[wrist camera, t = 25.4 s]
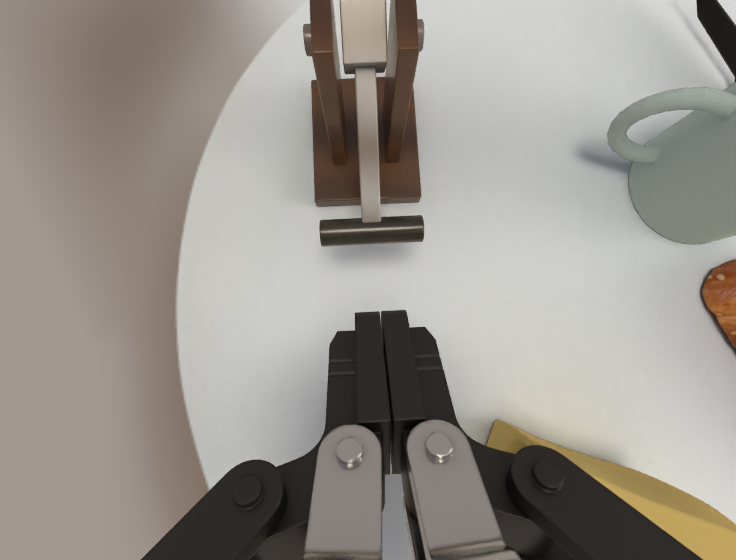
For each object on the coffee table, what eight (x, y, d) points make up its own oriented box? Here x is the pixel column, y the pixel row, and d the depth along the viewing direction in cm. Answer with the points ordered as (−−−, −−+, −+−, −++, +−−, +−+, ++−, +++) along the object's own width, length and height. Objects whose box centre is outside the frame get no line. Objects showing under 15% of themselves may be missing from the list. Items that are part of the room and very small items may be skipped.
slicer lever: (419, 237, 24) (425, 245, 22) (323, 242, 24) (320, 250, 22) (418, 12, 20) (425, -7, 18) (305, 17, 20) (299, -1, 18)
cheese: (440, 558, 26) (485, 694, 16) (493, 407, 28) (563, 447, 18) (586, 622, 26) (725, 804, 16) (631, 464, 27) (785, 539, 17)
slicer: (419, 202, 30) (457, 103, 17) (316, 206, 30) (279, 110, 17) (410, 85, 31) (440, -87, 19) (313, 89, 31) (276, -80, 18)
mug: (754, 150, 30) (940, 60, 21) (735, 259, 29) (924, 219, 19) (586, 103, 31) (688, -6, 21) (560, 207, 30) (656, 143, 20)
